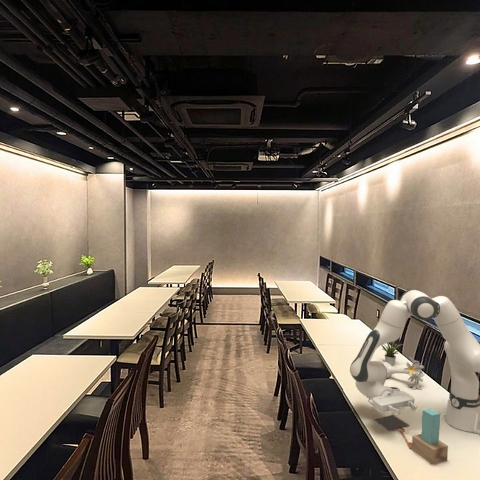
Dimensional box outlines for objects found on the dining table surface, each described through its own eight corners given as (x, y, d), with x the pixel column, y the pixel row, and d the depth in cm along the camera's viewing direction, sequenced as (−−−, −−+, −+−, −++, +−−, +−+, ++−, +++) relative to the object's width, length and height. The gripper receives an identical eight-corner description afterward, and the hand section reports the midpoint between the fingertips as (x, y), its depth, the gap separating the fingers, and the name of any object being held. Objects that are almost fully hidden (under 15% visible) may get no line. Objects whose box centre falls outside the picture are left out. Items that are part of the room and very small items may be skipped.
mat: (392, 415, 180) (393, 414, 180) (409, 426, 171) (409, 425, 171) (373, 419, 175) (373, 419, 175) (389, 431, 166) (389, 430, 166)
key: (420, 451, 153) (408, 430, 168) (420, 449, 153) (408, 428, 168) (405, 448, 153) (394, 427, 168) (405, 446, 153) (395, 425, 168)
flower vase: (380, 389, 224) (422, 393, 205) (372, 360, 224) (413, 361, 206) (390, 379, 233) (430, 383, 214) (381, 351, 233) (421, 352, 215)
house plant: (399, 361, 253) (400, 338, 252) (406, 369, 239) (407, 344, 238) (377, 360, 254) (378, 336, 253) (383, 368, 240) (384, 343, 239)
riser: (425, 446, 156) (426, 432, 155) (447, 460, 146) (447, 445, 146) (411, 450, 153) (412, 435, 152) (432, 464, 143) (433, 449, 143)
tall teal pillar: (429, 436, 152) (430, 408, 152) (438, 442, 148) (440, 413, 147) (421, 438, 150) (422, 410, 150) (430, 445, 146) (432, 415, 146)
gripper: (366, 393, 168) (389, 407, 156) (400, 386, 176) (424, 399, 164) (365, 406, 169) (388, 422, 156) (399, 399, 177) (423, 413, 164)
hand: (407, 410), depth 160 cm, fingers open, 8 cm apart
